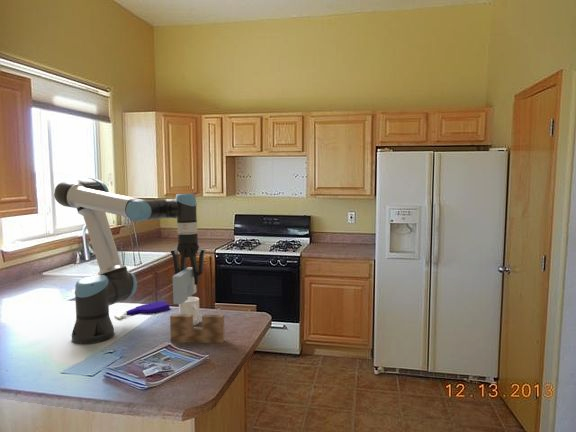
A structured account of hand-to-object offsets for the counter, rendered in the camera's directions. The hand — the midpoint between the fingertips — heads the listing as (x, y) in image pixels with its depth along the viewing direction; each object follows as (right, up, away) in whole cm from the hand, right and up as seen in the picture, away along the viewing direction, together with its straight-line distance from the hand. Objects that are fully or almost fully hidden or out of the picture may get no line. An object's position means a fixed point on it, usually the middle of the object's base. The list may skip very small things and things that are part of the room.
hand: (189, 292), depth 164 cm
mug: (-3, -17, +15) cm, 23 cm away
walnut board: (+4, -18, -4) cm, 19 cm away
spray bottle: (-30, -16, +32) cm, 47 cm away
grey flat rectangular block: (0, -1, -6) cm, 6 cm away
